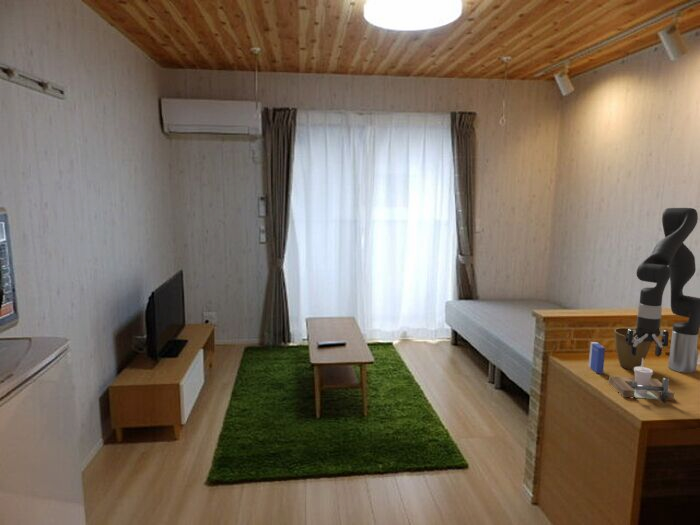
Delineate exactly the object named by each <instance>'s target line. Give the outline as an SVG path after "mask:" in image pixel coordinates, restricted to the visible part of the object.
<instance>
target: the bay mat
mask: <svg viewBox="0 0 700 525" xmlns="http://www.w3.org/2000/svg"><path fill="white" fill-rule="evenodd" d="M632 389H633V388H632ZM633 390H634V391H635V389H633ZM634 397H635V398H634V399H645V398H646V400H647V399H648V400H649V399H650V400H659V399H658V398H657V397H656V396H655V395H654V394H653V393H651V392H650V391H649V390H647V394H646V395H641V394H638V393H636V392H634Z"/></svg>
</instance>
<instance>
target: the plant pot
mask: <svg viewBox="0 0 700 525" xmlns="http://www.w3.org/2000/svg"><path fill="white" fill-rule="evenodd" d="M627 329H631V330H636V328H632V327H631V328H630V327H618V328H615V329H614V342H615V349H616V355H617V358H618V363H619V365H620V366H621V367H622V368H624V369H628V370H633V371H634V367H638V366H640V367H641V364H642V358H643V359H644V360H645V359H646V357H647V355H648V353H649V351H650V348H651V346H652V343H653V341H652V342H650V341H642V342H641V343H639V344H638V345H637V346H636V347H637V349H636V356H633V355H632V354H631V353H630V347H631V346H630V345H628V344H627V343H625V340H626V334H627ZM636 335H637V334H636V333H635V334H634V335H633V337H632V340H633V339H634V337H635V336H636Z"/></svg>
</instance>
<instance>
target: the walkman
mask: <svg viewBox="0 0 700 525" xmlns="http://www.w3.org/2000/svg"><path fill="white" fill-rule="evenodd" d="M605 353H606V348H605V347H604V345H601V344H600V343H599V342H597V341H596V342H595V341H590V345H589V355H588V356H589V357H588V368H589V369H591V371H593V372H594V373H596V374H603V373H604V364H605Z"/></svg>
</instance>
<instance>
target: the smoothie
mask: <svg viewBox="0 0 700 525" xmlns="http://www.w3.org/2000/svg"><path fill="white" fill-rule="evenodd" d="M644 361H645V359H643V358H642V364H641V366H638V367H634V370H633V371H634V378H635V382H637V385H643V386H649V383H650V379H652V375H653V374H654V370H653V369H652V368H649V367H645V366H644ZM635 392H636V393H638V394H641V395H646V394H647V390H637V389H635Z"/></svg>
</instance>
